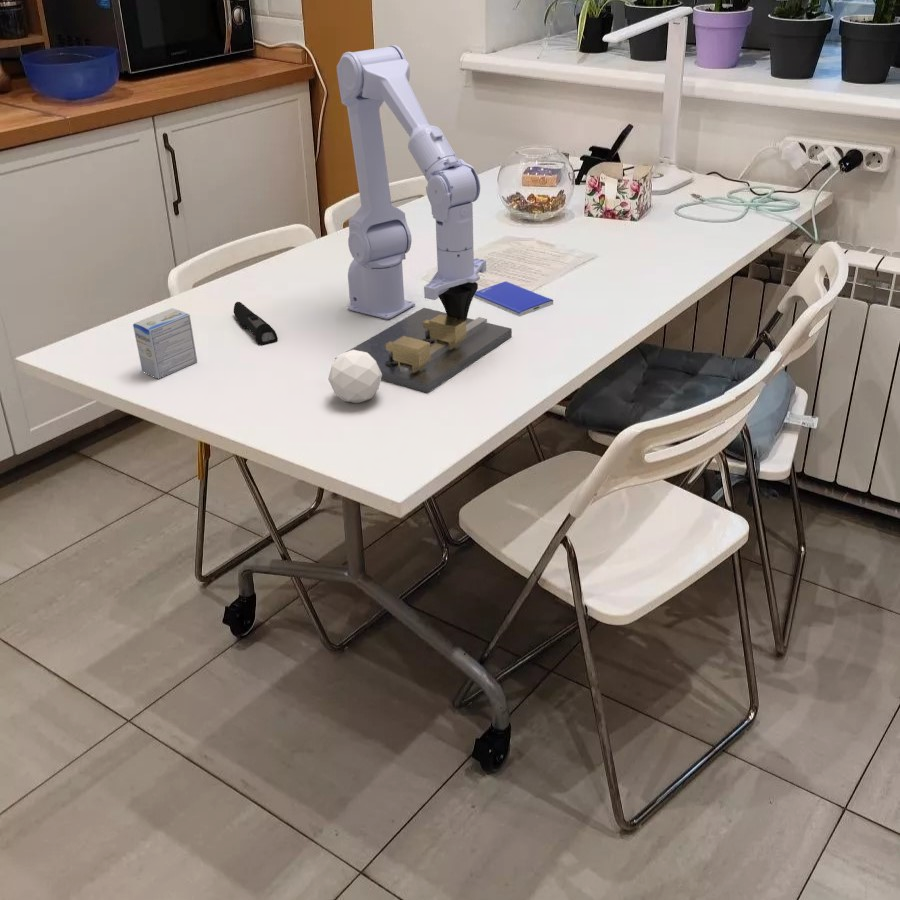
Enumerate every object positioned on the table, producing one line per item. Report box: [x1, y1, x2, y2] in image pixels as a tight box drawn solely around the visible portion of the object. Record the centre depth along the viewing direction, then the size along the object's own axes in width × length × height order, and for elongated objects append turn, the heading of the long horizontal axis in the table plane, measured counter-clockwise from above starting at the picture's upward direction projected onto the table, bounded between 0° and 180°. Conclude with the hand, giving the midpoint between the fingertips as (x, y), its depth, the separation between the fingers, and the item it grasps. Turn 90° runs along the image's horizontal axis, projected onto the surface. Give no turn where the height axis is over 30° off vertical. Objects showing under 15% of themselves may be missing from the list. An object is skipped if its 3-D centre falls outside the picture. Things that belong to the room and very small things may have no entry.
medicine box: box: [132, 308, 198, 380], centre depth 165 cm, size 8×4×9 cm, turn 141°
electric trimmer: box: [233, 301, 279, 346], centre depth 180 cm, size 4×15×3 cm, turn 29°
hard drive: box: [473, 281, 554, 317], centre depth 187 cm, size 2×8×12 cm
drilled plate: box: [334, 307, 513, 394], centre depth 168 cm, size 18×24×6 cm
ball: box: [327, 350, 382, 404], centre depth 154 cm, size 8×8×8 cm
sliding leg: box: [423, 314, 466, 350], centre depth 166 cm, size 7×3×4 cm, turn 55°
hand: (457, 326), depth 168 cm, fingers closed
